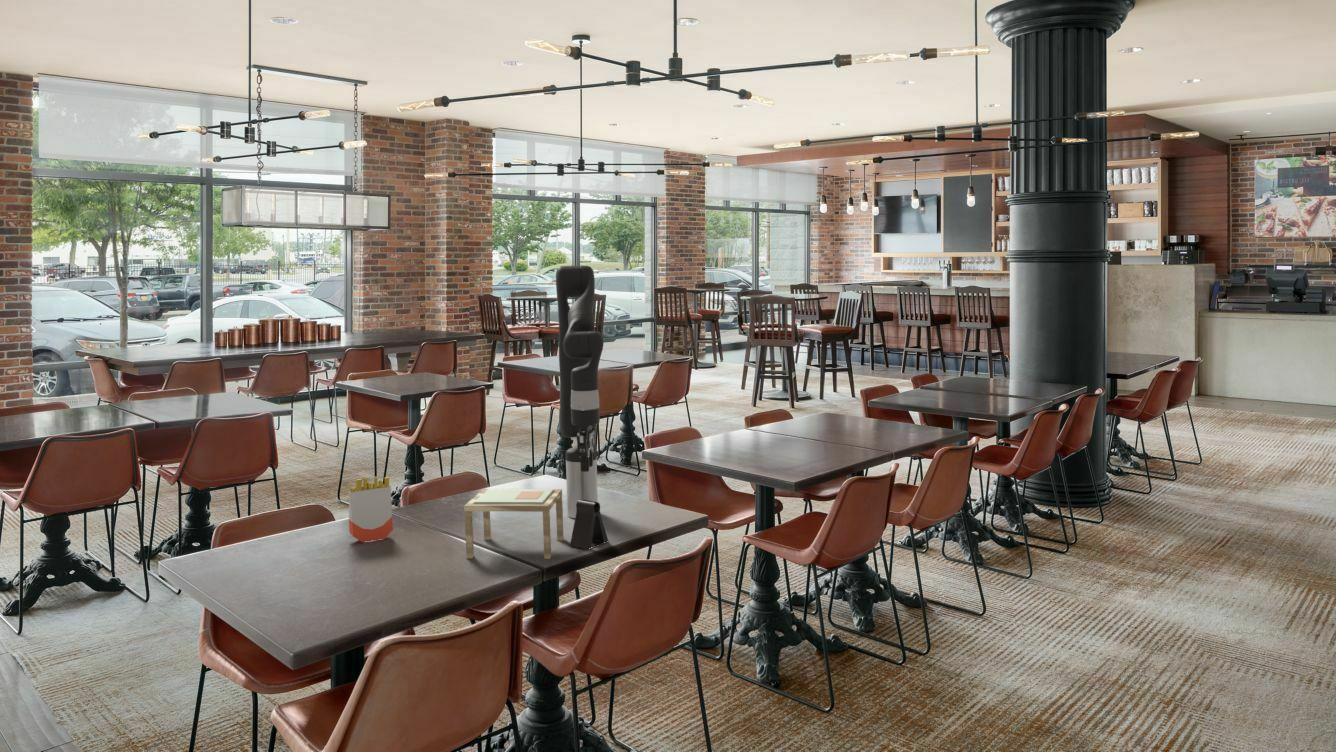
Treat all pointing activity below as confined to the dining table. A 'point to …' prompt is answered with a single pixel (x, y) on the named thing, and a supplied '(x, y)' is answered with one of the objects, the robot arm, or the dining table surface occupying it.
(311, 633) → the dining table surface
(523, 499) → the pale green book
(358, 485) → the french fries container
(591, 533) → the black a-frame stand
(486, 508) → the miniature wooden table
